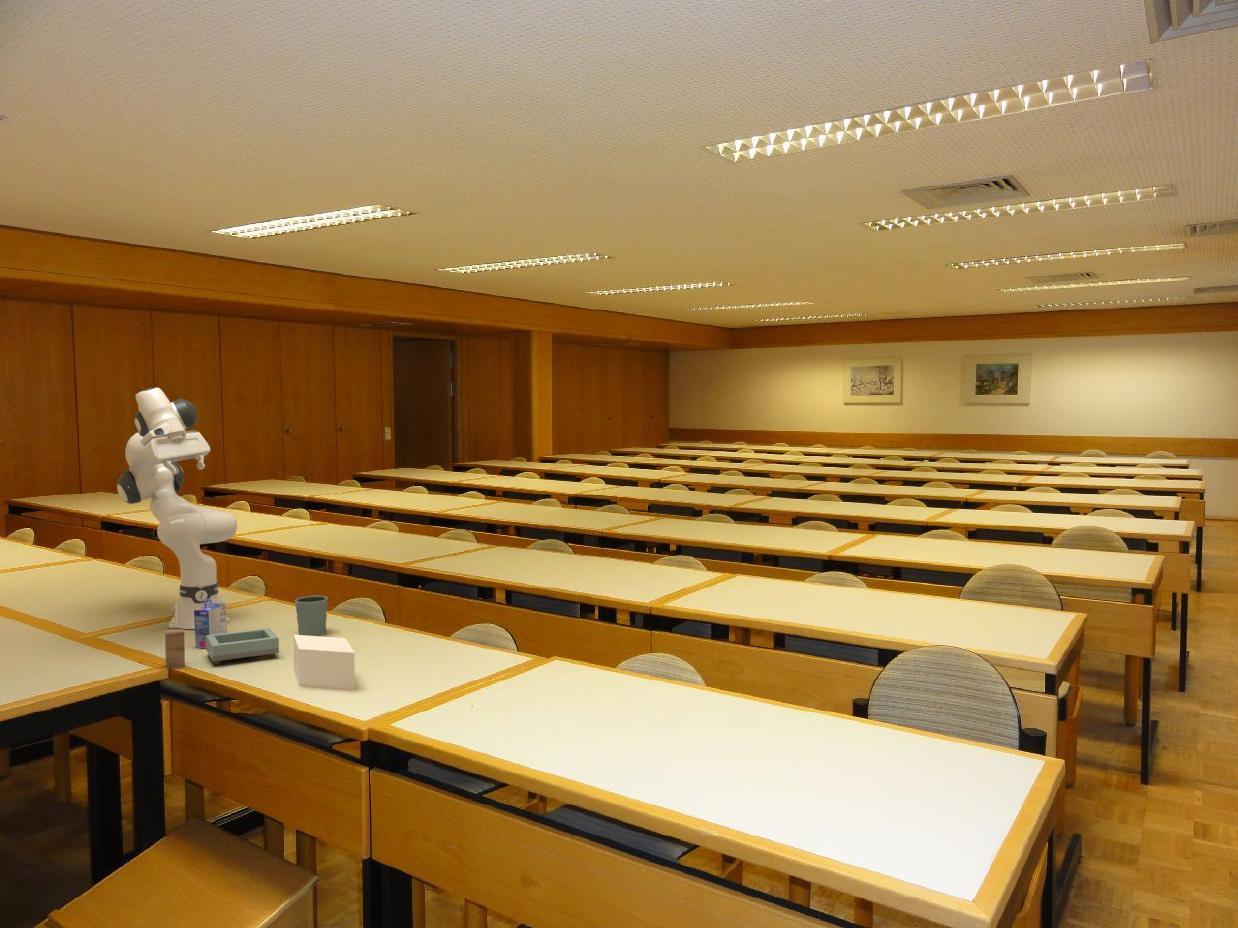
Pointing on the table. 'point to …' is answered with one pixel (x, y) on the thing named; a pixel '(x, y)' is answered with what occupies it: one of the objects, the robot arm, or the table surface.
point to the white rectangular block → (324, 662)
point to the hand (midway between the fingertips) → (189, 470)
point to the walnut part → (175, 648)
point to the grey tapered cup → (311, 615)
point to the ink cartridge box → (209, 621)
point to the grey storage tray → (242, 644)
